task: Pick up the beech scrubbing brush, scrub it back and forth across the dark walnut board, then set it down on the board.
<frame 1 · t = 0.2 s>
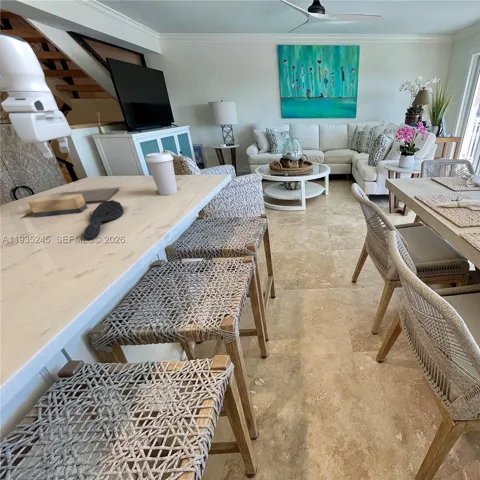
hand: (58, 154, 81), 18 cm above the counter, tool pointing down, fingers open, 8 cm apart
coffee cup: (168, 193, 106), on the counter
walnut board: (82, 198, 100), on the counter
scrub brush: (62, 212, 88), on the counter
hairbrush: (103, 223, 80), on the counter
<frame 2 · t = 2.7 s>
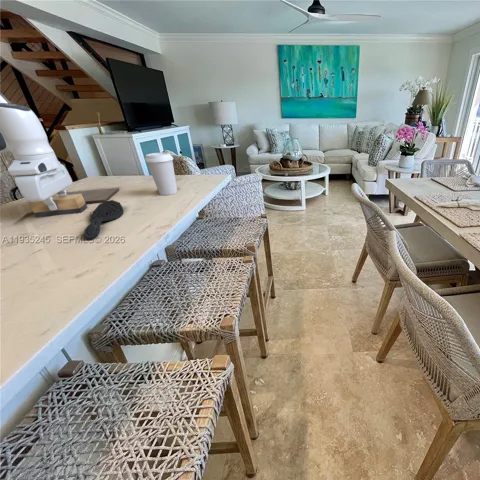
hand: (59, 206, 87), 2 cm above the counter, tool pointing down, fingers closed on scrub brush, 5 cm apart
scrub brush: (62, 212, 88), on the counter, touching gripper
everything else where it was.
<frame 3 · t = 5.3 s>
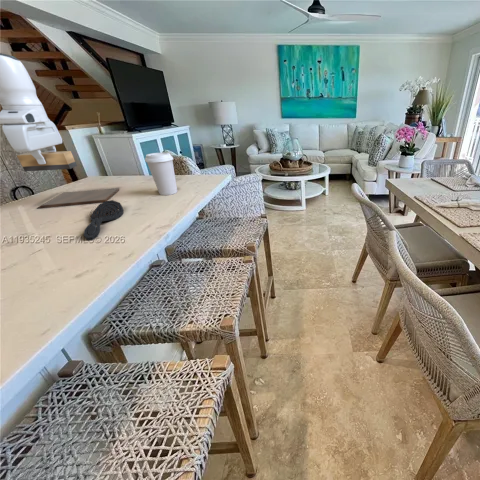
hand: (48, 162, 87), 15 cm above the counter, tool pointing down, fingers closed on scrub brush, 5 cm apart
scrub brush: (52, 168, 88), point 13 cm above the counter, touching gripper
everything else where it was.
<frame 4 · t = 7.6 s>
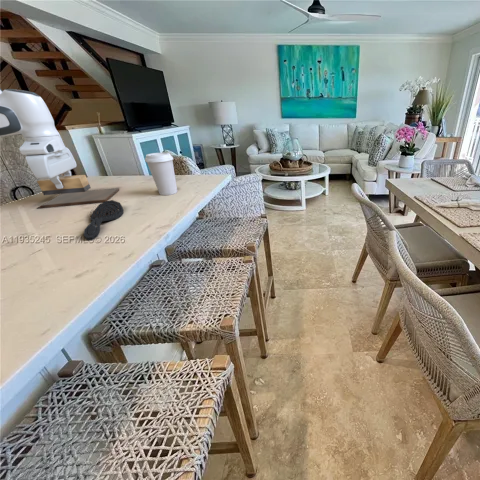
hand: (65, 185, 94), 6 cm above the counter, tool pointing down, fingers closed on scrub brush, 5 cm apart
scrub brush: (68, 191, 95), point 4 cm above the counter, touching gripper
everything else where it was.
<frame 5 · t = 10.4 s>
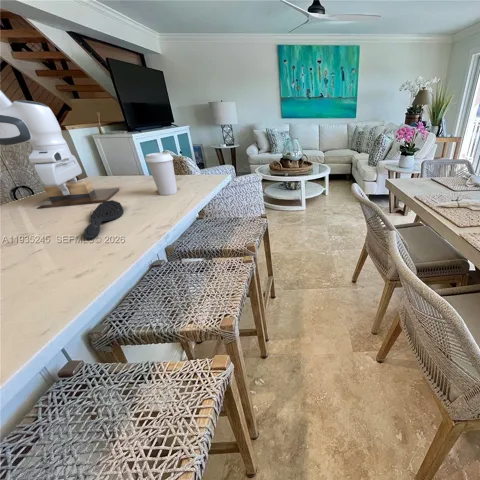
hand: (71, 192, 98), 3 cm above the counter, tool pointing down, fingers closed on scrub brush, 5 cm apart
scrub brush: (73, 197, 99), point 1 cm above the counter, touching gripper
everything else where it was.
when the fingers open (3 cm above the counter, at t = 12.6 s): scrub brush stays where it is, resting on walnut board.
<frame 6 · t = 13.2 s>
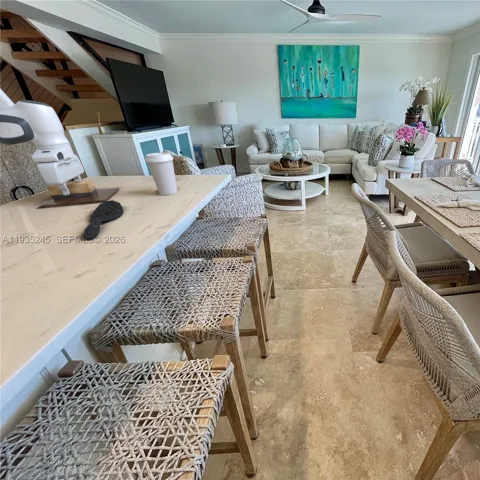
hand: (73, 190, 99), 3 cm above the counter, tool pointing down, fingers open, 8 cm apart
scrub brush: (76, 195, 100), point 1 cm above the counter, touching walnut board
everything else where it was.
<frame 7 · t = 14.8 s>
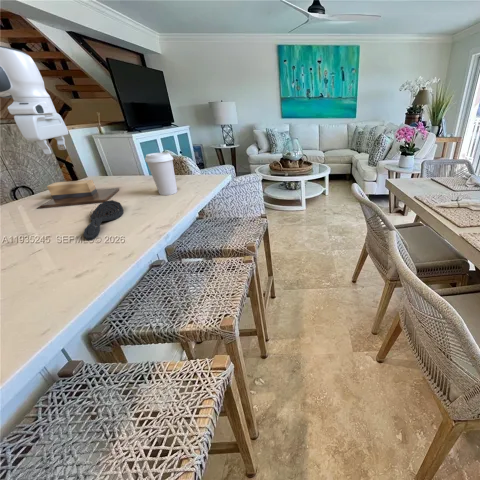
hand: (56, 151, 93), 17 cm above the counter, tool pointing down, fingers open, 8 cm apart
nothing on the counter moved.
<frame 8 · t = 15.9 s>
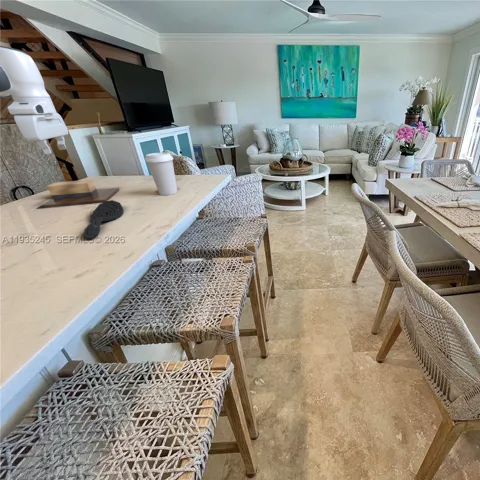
hand: (56, 151, 93), 17 cm above the counter, tool pointing down, fingers open, 8 cm apart
nothing on the counter moved.
at the end: scrub brush inside the target area (2.1 cm from its centre), point 1.0 cm above the counter; scrub brush tilted 0°; the gripper is holding nothing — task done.
